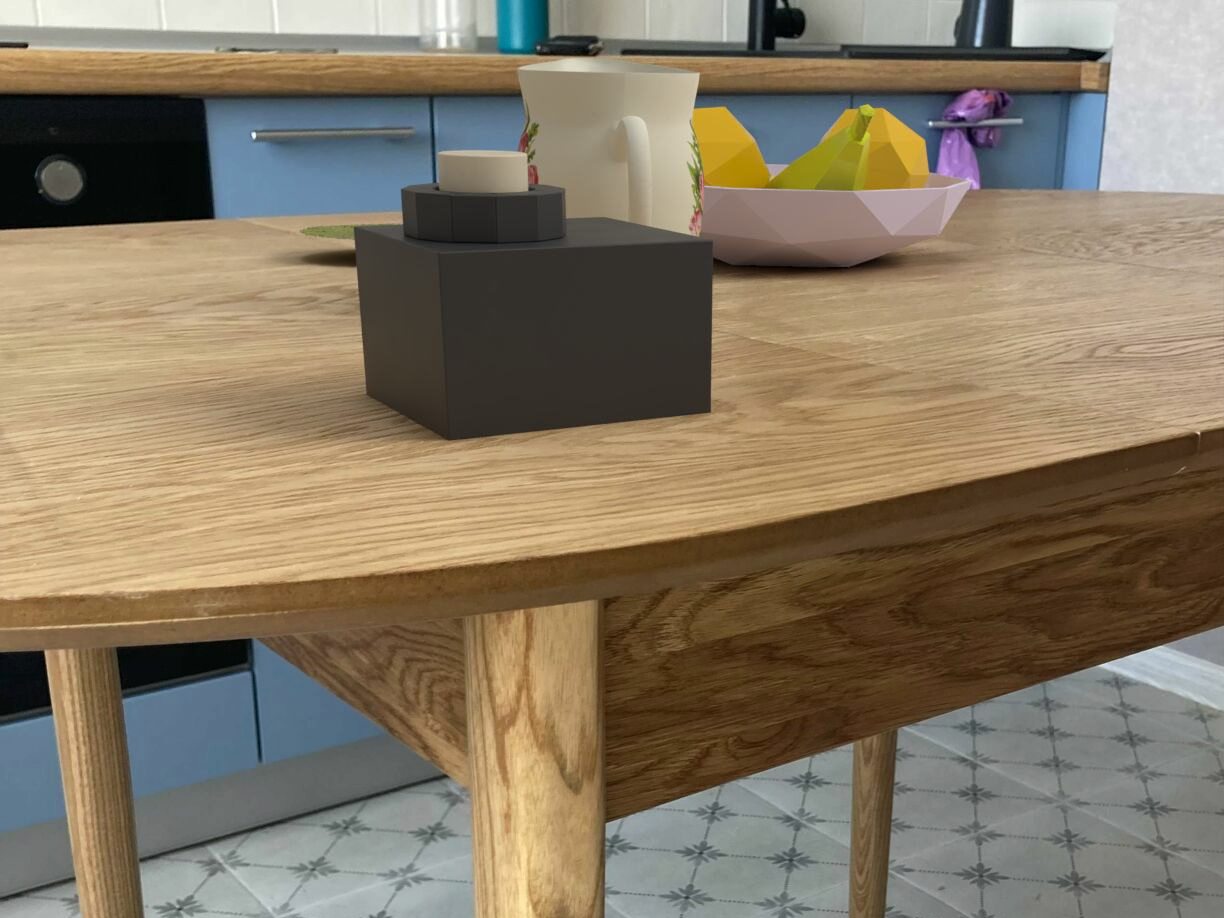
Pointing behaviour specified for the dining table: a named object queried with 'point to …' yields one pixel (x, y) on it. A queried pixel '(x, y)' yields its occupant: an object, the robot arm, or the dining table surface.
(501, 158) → the lid button
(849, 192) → the fruit bowl
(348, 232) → the mat
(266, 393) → the dining table surface
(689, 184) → the pitcher
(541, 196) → the base
